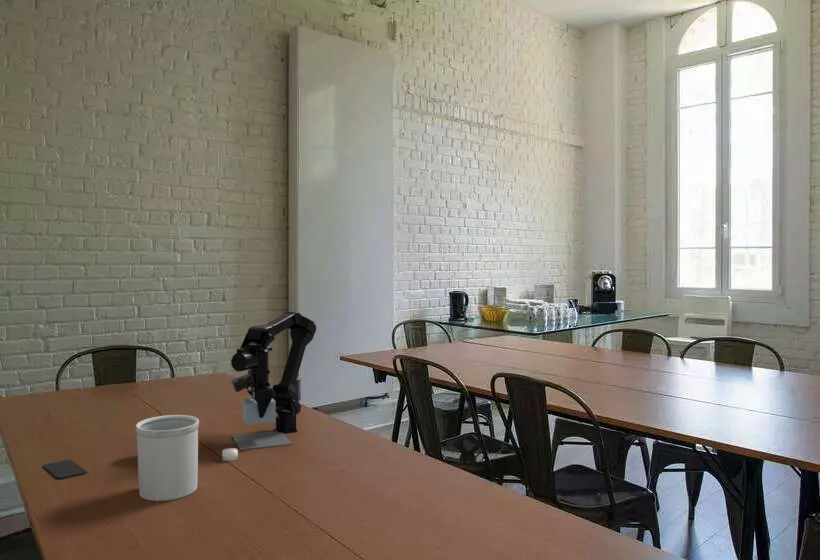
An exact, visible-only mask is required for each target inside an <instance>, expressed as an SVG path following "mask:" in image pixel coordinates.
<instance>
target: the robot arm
mask: <svg viewBox="0 0 820 560" xmlns="http://www.w3.org/2000/svg"><path fill="white" fill-rule="evenodd" d="M287 329H289V330H290V332H289V335H290V339H291V346H290V348H289V349H290V350H289V352H288V356H287V359H286V362H285V365H284V369H283V373H282V376H281V380H280V382H279V383H278V384H273V386H272V387H271V383H270V381H269V374H270V373H271V370H270V369H269V368H270V367H269V365H270V361H269V359H270V358H269V357H270V355H269V352H272V351H273V348H272V346H270V344H271V343H272V342H273V341H275V338H276V336H277V335H279V334H280V333H281V332H284V331H285V330H287ZM316 332H317V325H316V323H315V322H314V321H313V320H311V319H310V318H308V317H306V316H304V315H303V314H301V313H299V312H298V311H290V310H289V311H288V310H287V311H285V312H284V313H283V314H282V315H279V316H278V317H276V318H274V319H272V320H271V321H269V322H268V323H267V322H266V323H264V324H257V325H253V326H250V327H249V328H248V329H247V332H246V333H245V335H244V339H243V341H242V343H241V345H240V348H237V349H236V353H234V354H233V355H232V357H231V359H230V364H231V367H232V369H233V370H234V371H235V372H237V373H239V372H240V373H241V372H244V371H247V374H244V375H240V376H239V377H236V378H233V379H231V381H230V382H231V384H232V388H233V390H234V392H235V393H240V392H241V391H242V390H244V389H246V392H247V393H248V394H249V395H250V396H251V399H254V400H255V401H256V402H257V406H258V412H259V417H260V418H263V417H264V415H265V412H266V410H267V408H268V406H269V404H270V402H271V400H272V399H274V400H275V401H276V422H273V423H274V430H275V431H278V432H279V433H280V432H283V434H285V433H294V432H298V428H297V415H299V414H300V413H301V410H302V405H301V404H300V401H297V399H296V398H297V392H296V388H295V383H296V380H297V376H298V374H300V368H301V365H302V362H303V358H304V355H305V350H306V347H307V346H308V345H309V343H311V342H312V341H313V340H314V337H315V334H316Z"/></svg>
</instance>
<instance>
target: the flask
mask: <svg viewBox="0 0 820 560" xmlns="http://www.w3.org/2000/svg"><path fill="white" fill-rule="evenodd" d="M301 383H302V377H301V376H300V373H298V376H297V380H296V383H295V388H296V392H297V398H296V399H297V401H298V402H300V401H301V400H302V396H301V395H302V392H301V391H302V388H301V386H302V384H301Z"/></svg>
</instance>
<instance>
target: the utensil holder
mask: <svg viewBox="0 0 820 560" xmlns="http://www.w3.org/2000/svg"><path fill="white" fill-rule="evenodd" d="M199 426H200V419H199V418H198V417H196V416H193V415H187V414H169V415H168V414H167V415H159V416H154V417H153V416H152V417H149V418H146V419H142V420H141V421H139V422H137V424H135V432H136V443H137V445H136V446H137V447H136V448H137V472H138V473H137V475H138V489H139V491H138V492H139V496H140V498H142V499H144V500H148V501H153V502H155V501H156V502H161V501H162V502H166V501H171V500H172V501H173V500H177V499H182V498H185V497H187V496H190V495H191V494H193V493H194V492H196V490H197V489H198V481H199V480H198V473H199V470H198V469H199V467H198V466H199Z"/></svg>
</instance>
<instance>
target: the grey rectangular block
mask: <svg viewBox="0 0 820 560" xmlns="http://www.w3.org/2000/svg"><path fill="white" fill-rule="evenodd" d="M242 402H243V403H242V404H243V405H242V409H243V410H242V420H243V422H244V423H245V424H246V425H255V424H257V425H258V424H265V423H267V424H268V423H274V422H276V401H275V400H274V399H272V400H271V402H270V404H269V406H268V408H267V410H266V412H265V415H264V417H263V418H260V417H259V412H258V406H257V402H256V401H255V400H254V399H252V398H244V399H242Z"/></svg>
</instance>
